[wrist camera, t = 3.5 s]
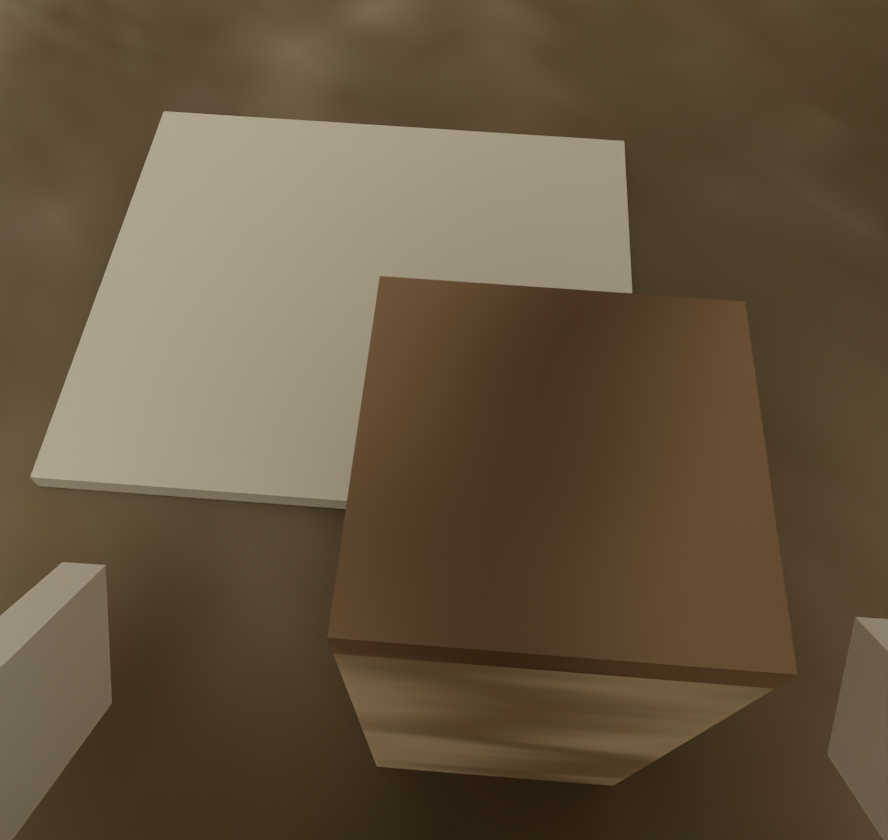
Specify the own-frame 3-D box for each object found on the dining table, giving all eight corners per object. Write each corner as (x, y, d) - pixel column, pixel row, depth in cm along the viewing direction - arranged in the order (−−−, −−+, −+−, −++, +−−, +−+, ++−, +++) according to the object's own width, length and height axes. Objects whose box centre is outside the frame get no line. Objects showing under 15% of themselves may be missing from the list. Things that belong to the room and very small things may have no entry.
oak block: (606, 561, 24) (745, 300, 13) (612, 785, 21) (797, 674, 10) (400, 545, 24) (379, 276, 14) (376, 766, 21) (327, 638, 11)
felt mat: (621, 153, 32) (624, 140, 32) (640, 531, 24) (644, 523, 24) (167, 123, 33) (164, 111, 32) (38, 485, 25) (30, 477, 24)
